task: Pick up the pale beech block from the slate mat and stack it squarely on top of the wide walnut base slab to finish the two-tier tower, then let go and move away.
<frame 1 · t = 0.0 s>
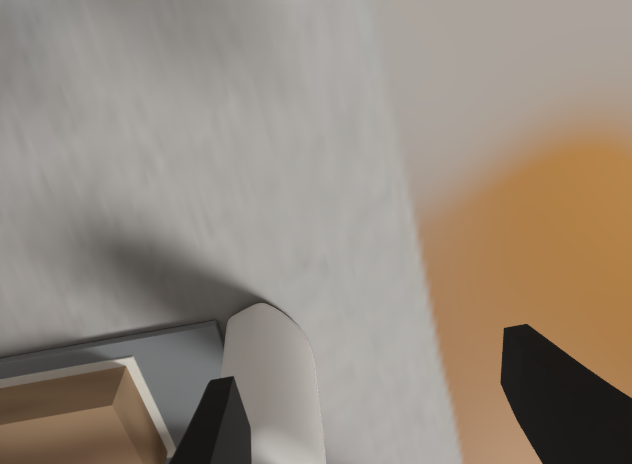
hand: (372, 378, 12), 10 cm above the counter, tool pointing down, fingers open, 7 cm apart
eye dropper bottle: (272, 338, 25), on the counter
slate mat: (140, 431, 27), on the counter
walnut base: (85, 423, 26), resting on slate mat
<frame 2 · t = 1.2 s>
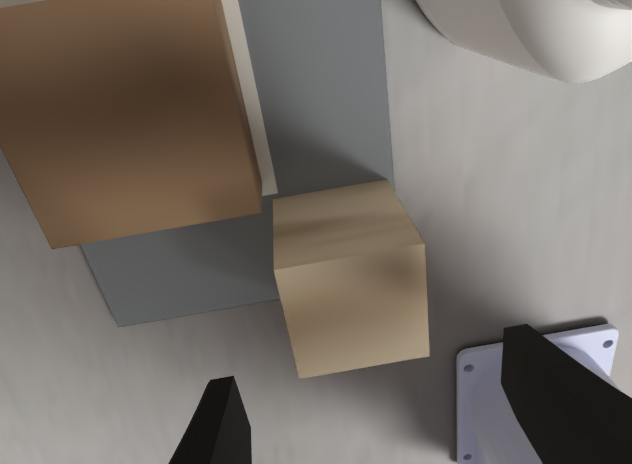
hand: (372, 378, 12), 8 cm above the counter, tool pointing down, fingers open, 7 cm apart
beech block: (337, 238, 19), resting on slate mat
slate mat: (221, 147, 17), on the counter
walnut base: (140, 107, 16), resting on slate mat
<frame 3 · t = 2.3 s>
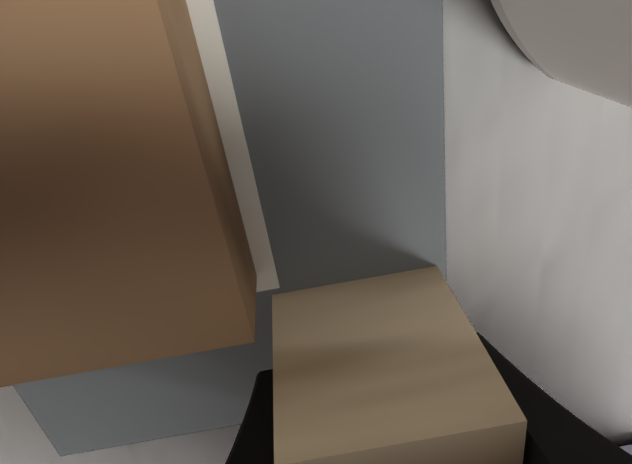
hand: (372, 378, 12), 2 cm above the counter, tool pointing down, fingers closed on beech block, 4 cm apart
beech block: (362, 342, 14), resting on slate mat, touching gripper
slate mat: (195, 224, 12), on the counter
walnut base: (67, 174, 10), resting on slate mat
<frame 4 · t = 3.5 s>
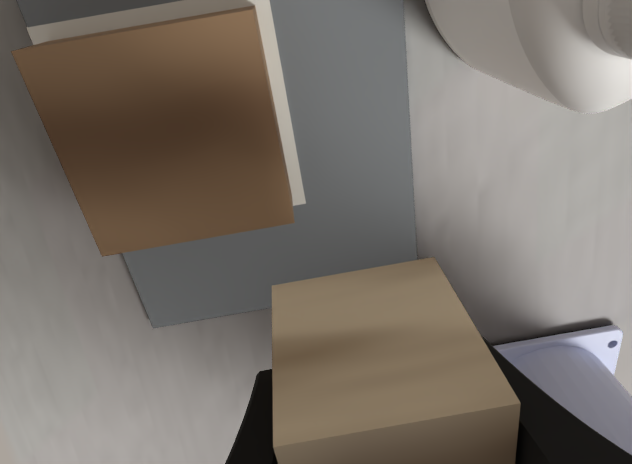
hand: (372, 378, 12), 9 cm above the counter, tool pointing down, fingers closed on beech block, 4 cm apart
beech block: (361, 333, 14), point 7 cm above the counter, touching gripper
slate mat: (253, 161, 19), on the counter
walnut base: (181, 125, 17), resting on slate mat
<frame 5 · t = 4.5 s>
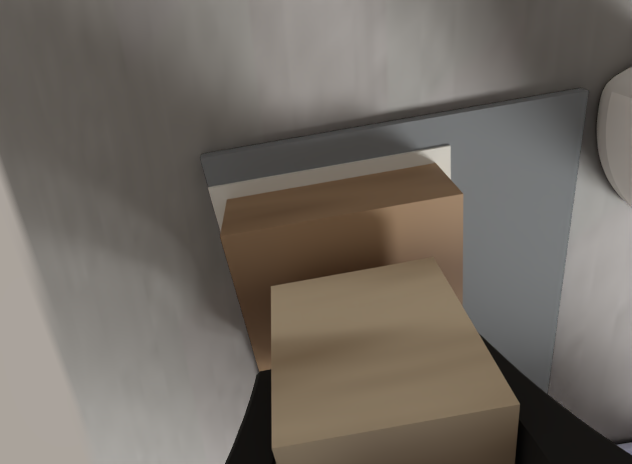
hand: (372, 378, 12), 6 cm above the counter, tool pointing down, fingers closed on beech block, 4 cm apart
beech block: (360, 334, 14), point 4 cm above the counter, touching gripper
slate mat: (404, 293, 18), on the counter
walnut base: (344, 268, 17), resting on slate mat
when the fingers open (6 cm above the counter, at t = 4.9 s): beech block drops 1 cm, resting on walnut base.
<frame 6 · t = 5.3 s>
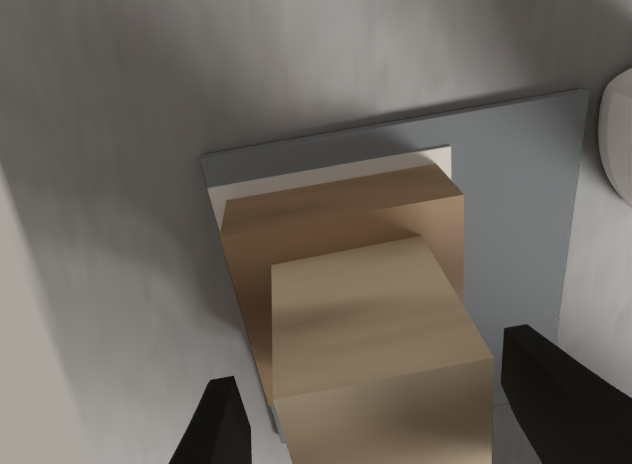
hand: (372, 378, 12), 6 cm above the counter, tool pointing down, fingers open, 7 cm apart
beech block: (356, 309, 15), point 3 cm above the counter, touching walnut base
slate mat: (404, 294, 18), on the counter
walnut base: (344, 269, 17), resting on slate mat, touching beech block
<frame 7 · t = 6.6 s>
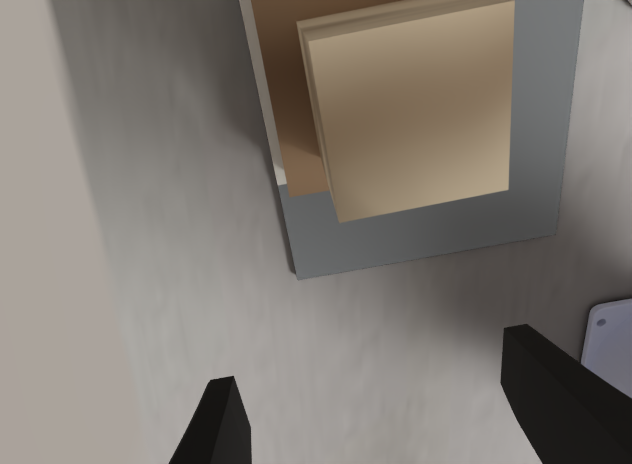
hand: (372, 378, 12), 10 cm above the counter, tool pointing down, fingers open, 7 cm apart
beech block: (375, 81, 15), point 3 cm above the counter, touching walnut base
slate mat: (418, 109, 19), on the counter
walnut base: (361, 71, 18), resting on slate mat, touching beech block
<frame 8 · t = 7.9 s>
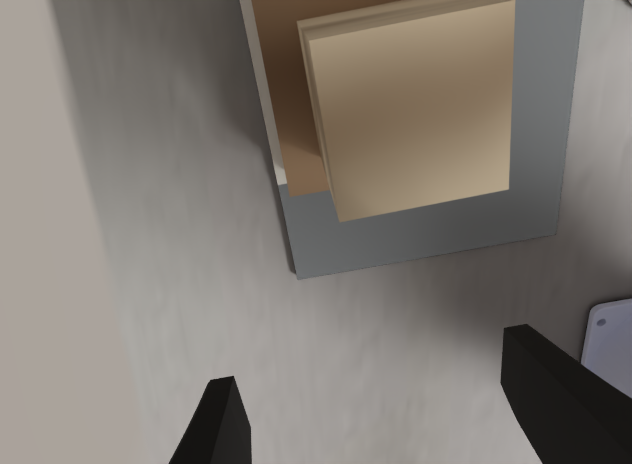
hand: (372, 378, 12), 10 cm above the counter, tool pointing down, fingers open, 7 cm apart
beech block: (376, 80, 15), point 3 cm above the counter, touching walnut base
slate mat: (418, 109, 19), on the counter
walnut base: (361, 71, 18), resting on slate mat, touching beech block
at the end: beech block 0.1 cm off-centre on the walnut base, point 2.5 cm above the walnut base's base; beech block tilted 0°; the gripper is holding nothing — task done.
